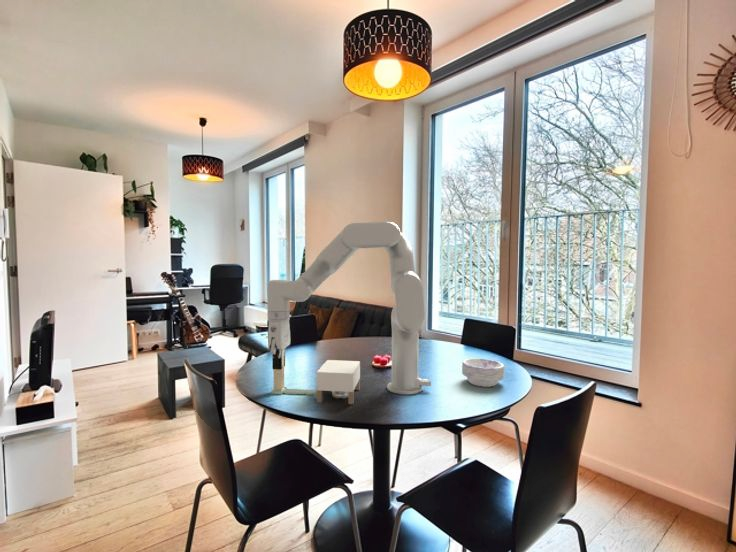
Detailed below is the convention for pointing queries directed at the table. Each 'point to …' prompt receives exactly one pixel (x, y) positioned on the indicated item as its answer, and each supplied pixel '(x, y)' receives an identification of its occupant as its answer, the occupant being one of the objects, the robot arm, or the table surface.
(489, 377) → the paper bowls
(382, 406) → the table surface
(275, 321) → the robot arm
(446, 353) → the table surface
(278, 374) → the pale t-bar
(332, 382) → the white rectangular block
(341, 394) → the silver dome
